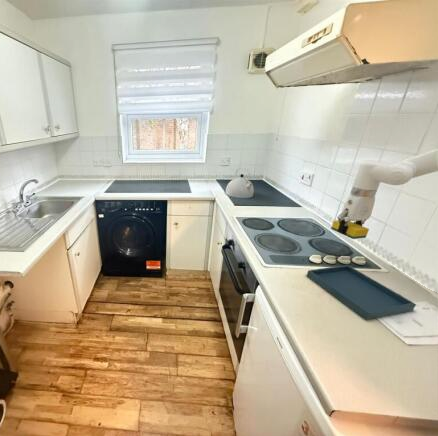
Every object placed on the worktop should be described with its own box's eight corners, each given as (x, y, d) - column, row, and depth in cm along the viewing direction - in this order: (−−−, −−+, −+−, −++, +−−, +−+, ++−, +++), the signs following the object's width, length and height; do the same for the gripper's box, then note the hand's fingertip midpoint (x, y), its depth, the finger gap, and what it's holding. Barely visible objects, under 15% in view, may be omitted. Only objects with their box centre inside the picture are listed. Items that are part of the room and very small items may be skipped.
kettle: (261, 197, 194) (266, 170, 186) (237, 199, 189) (241, 171, 180) (242, 189, 217) (246, 164, 208) (220, 191, 211) (223, 165, 202)
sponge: (330, 228, 106) (333, 220, 104) (342, 227, 107) (345, 219, 105) (353, 239, 97) (356, 230, 95) (365, 237, 98) (369, 229, 96)
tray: (345, 270, 101) (347, 264, 100) (412, 310, 80) (416, 304, 79) (306, 276, 97) (308, 270, 96) (365, 320, 76) (368, 313, 75)
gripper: (354, 196, 90) (339, 238, 97) (390, 193, 93) (373, 234, 100) (336, 191, 96) (323, 230, 103) (370, 188, 100) (355, 227, 107)
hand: (348, 232), depth 102 cm, fingers closed on sponge, 6 cm apart
